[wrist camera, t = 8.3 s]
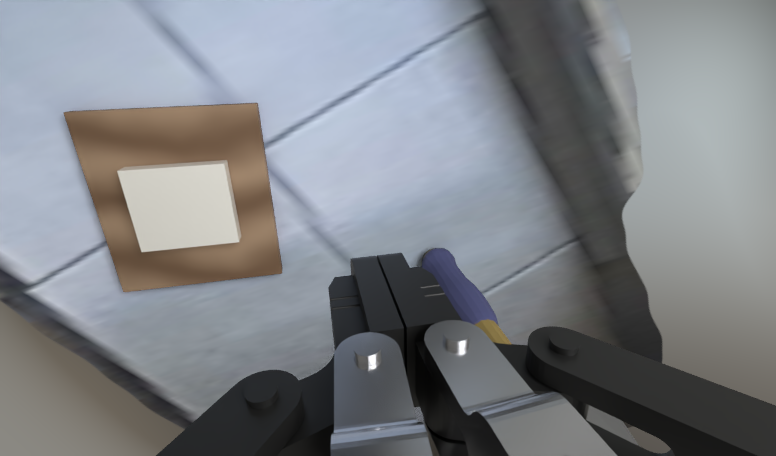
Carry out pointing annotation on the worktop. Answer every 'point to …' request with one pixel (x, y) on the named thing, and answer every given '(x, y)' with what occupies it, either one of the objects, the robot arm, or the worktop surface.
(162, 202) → the block
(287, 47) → the worktop surface
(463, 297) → the rubber mallet
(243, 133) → the board
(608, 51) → the worktop surface
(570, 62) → the worktop surface
